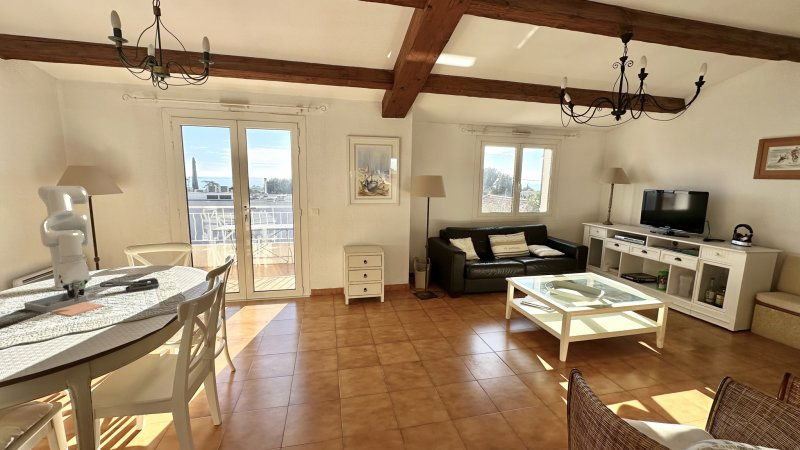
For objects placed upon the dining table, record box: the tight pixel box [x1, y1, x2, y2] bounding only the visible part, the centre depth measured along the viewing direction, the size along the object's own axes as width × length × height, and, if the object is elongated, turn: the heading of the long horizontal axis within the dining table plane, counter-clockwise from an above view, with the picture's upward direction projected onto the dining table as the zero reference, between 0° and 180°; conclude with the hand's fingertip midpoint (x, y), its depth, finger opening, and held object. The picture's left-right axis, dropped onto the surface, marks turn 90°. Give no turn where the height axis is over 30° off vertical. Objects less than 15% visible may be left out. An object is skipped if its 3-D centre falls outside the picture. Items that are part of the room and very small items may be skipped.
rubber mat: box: [50, 301, 105, 317], centre depth 156 cm, size 13×14×1 cm
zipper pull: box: [99, 277, 160, 293], centre depth 182 cm, size 9×7×25 cm
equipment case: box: [23, 291, 106, 314], centre depth 164 cm, size 24×16×3 cm, turn 163°
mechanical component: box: [72, 282, 86, 302], centre depth 155 cm, size 3×10×10 cm, turn 77°
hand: (76, 296), depth 155 cm, fingers closed on mechanical component, 3 cm apart
